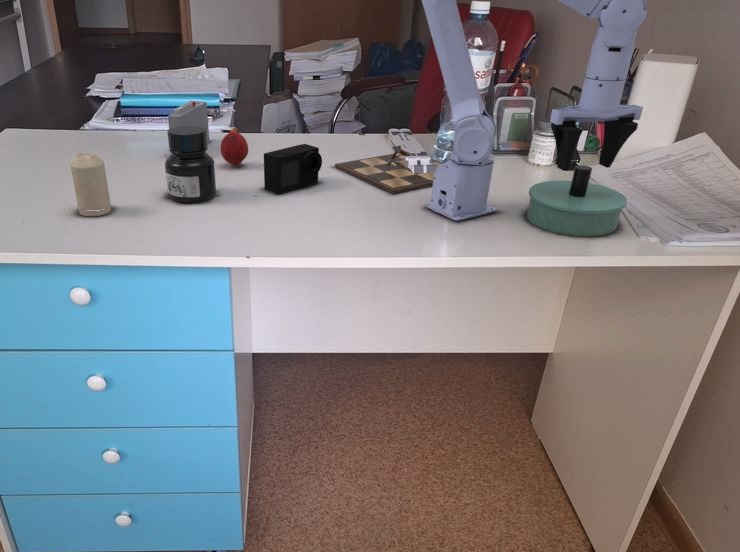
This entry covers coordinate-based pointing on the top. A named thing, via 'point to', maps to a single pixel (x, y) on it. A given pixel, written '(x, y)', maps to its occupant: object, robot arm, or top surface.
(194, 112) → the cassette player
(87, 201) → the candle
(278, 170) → the digital camera
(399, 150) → the wooden post with brackets
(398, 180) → the chessboard
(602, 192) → the tin lid
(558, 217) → the tin
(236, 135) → the onion
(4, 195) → the top surface
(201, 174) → the ink bottle
